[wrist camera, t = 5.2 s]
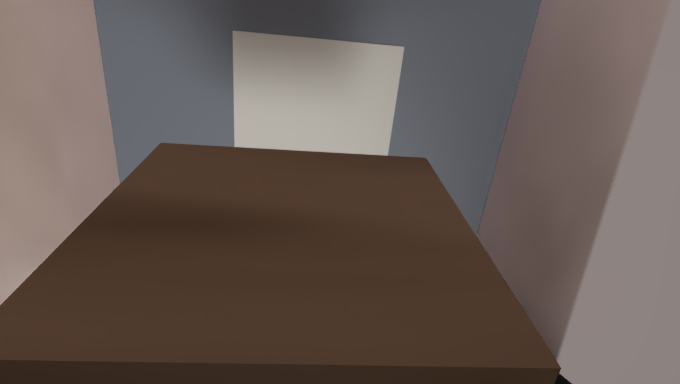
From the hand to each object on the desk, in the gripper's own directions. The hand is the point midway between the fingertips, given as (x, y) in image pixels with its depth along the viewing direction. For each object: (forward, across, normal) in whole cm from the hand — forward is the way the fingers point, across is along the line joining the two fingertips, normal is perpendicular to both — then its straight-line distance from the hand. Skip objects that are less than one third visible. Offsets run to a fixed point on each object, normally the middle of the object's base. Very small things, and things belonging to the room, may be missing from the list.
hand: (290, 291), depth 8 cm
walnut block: (+1, 0, 0) cm, 1 cm away
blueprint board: (+11, 0, 0) cm, 11 cm away
